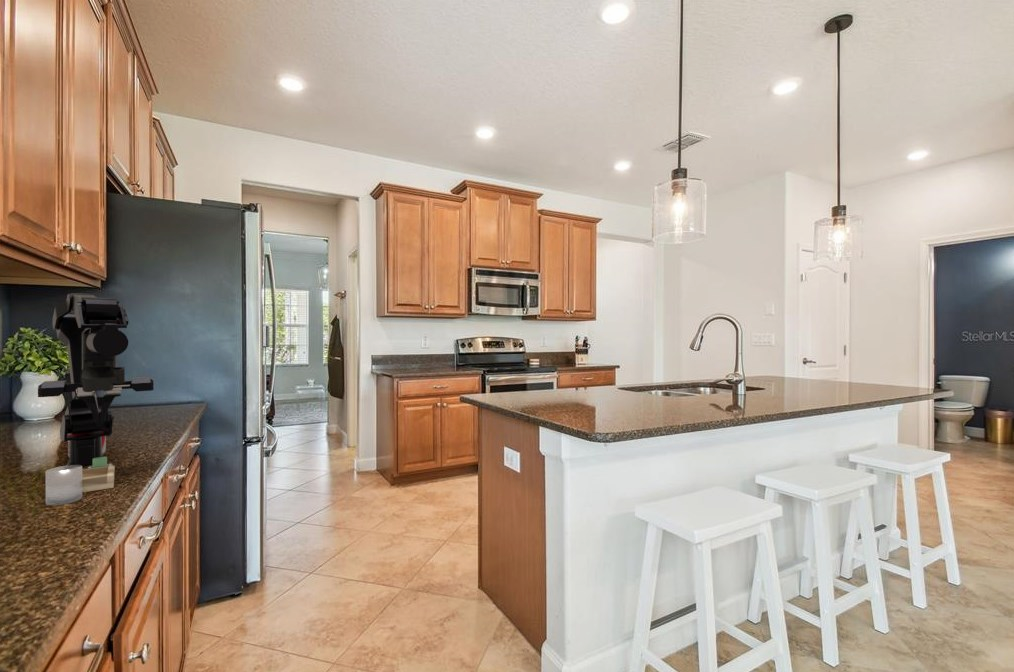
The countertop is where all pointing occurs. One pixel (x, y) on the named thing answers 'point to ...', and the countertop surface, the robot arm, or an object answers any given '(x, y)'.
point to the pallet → (97, 478)
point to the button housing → (92, 466)
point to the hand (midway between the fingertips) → (99, 425)
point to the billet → (63, 484)
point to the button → (99, 462)
